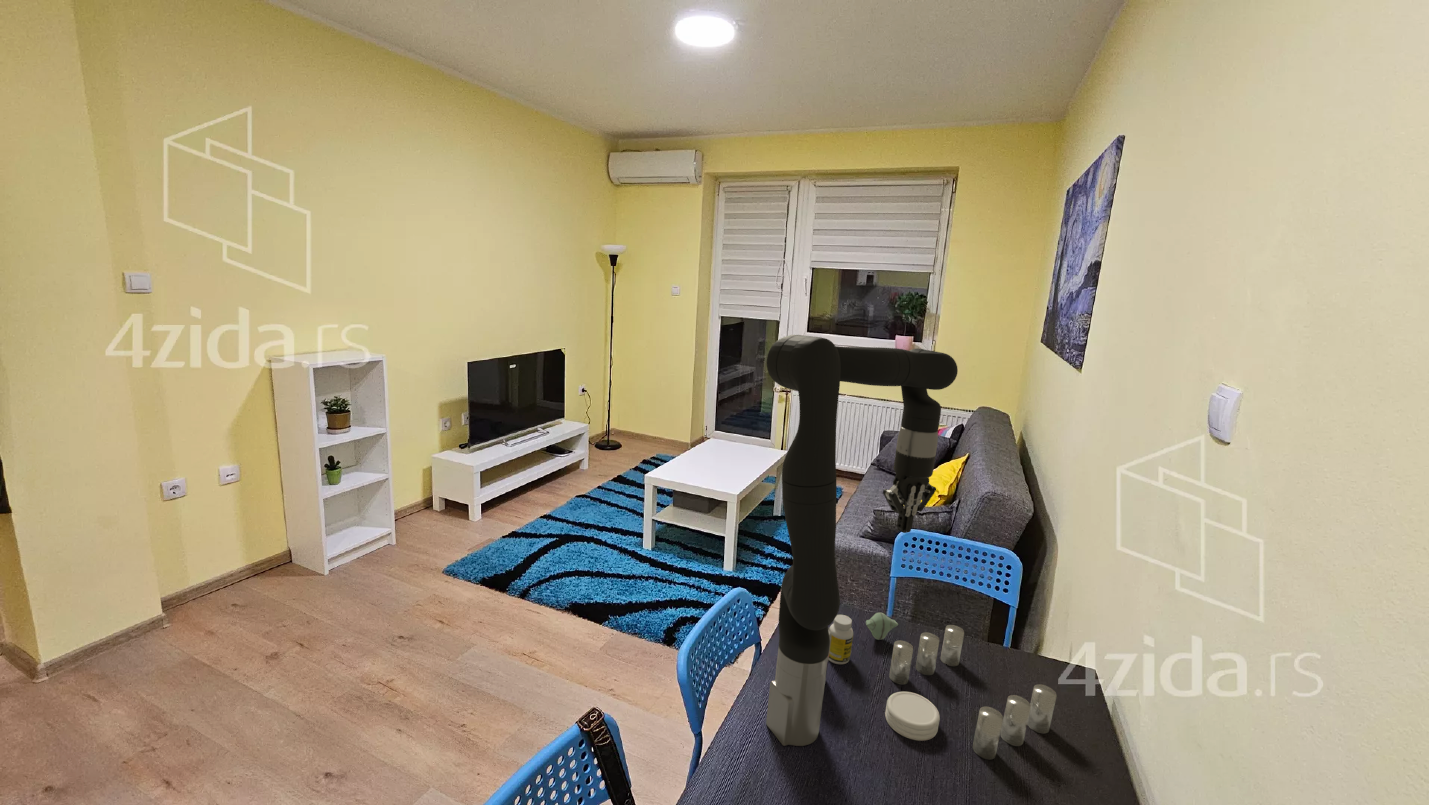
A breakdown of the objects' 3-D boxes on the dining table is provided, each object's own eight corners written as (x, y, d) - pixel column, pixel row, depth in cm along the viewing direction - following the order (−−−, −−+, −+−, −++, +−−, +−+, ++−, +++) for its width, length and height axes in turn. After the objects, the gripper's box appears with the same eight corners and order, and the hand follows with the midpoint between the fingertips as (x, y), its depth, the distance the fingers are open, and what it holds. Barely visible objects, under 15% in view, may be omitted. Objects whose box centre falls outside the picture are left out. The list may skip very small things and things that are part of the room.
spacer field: (985, 762, 109) (993, 724, 107) (885, 675, 132) (890, 642, 130) (1053, 730, 119) (1061, 695, 117) (948, 653, 141) (953, 623, 139)
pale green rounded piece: (865, 644, 142) (868, 619, 141) (859, 634, 146) (862, 609, 145) (896, 643, 143) (900, 618, 142) (889, 633, 147) (893, 609, 146)
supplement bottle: (844, 668, 133) (850, 629, 131) (822, 659, 136) (826, 620, 133) (853, 656, 137) (858, 618, 135) (830, 647, 140) (835, 609, 138)
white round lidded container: (943, 720, 119) (946, 705, 119) (929, 750, 111) (932, 734, 111) (894, 698, 125) (896, 683, 124) (877, 725, 117) (879, 709, 116)
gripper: (905, 458, 112) (893, 543, 116) (954, 453, 118) (941, 534, 122) (877, 447, 119) (866, 528, 122) (925, 442, 125) (913, 519, 129)
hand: (903, 531), depth 122 cm, fingers closed
